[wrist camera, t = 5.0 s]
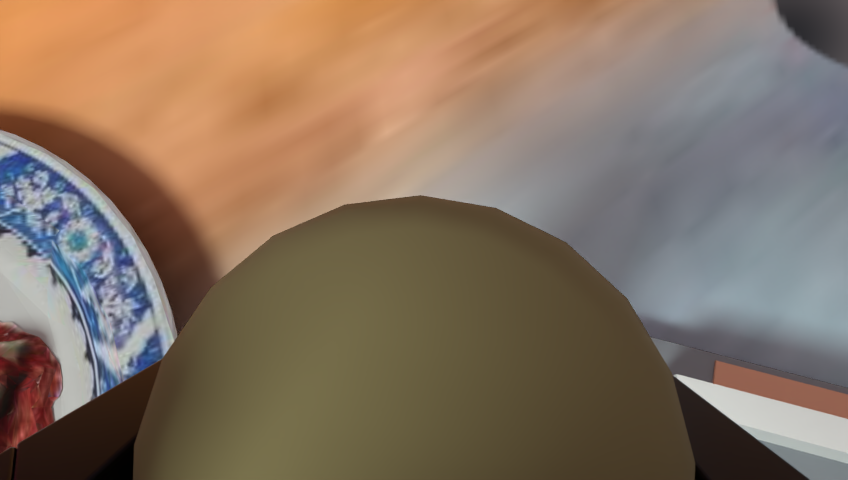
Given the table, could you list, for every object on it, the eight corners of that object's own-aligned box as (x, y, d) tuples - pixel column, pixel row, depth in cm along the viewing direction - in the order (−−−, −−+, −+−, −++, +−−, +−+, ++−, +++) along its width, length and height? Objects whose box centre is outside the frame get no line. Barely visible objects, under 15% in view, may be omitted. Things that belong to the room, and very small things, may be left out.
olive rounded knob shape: (543, 330, 16) (762, 103, 5) (552, 592, 14) (932, 1056, 3) (315, 324, 16) (87, 91, 5) (291, 582, 14) (-137, 996, 3)
